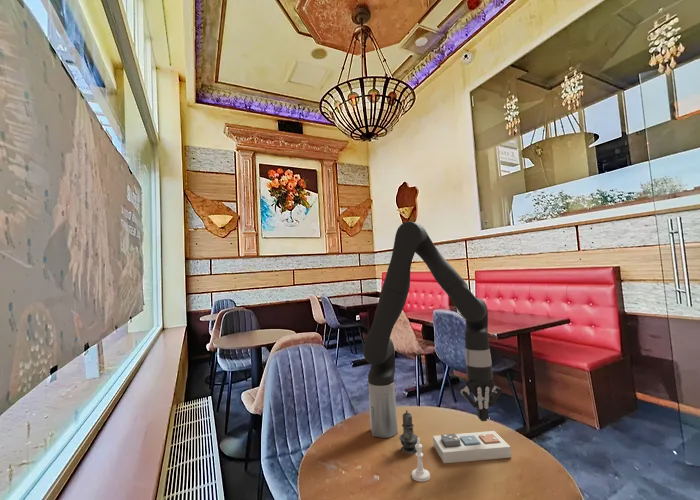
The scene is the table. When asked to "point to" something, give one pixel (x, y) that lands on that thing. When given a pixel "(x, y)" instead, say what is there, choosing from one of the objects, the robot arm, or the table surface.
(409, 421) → the dark grey tall piece
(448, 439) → the three-dot button
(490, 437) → the two-dot button
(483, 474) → the table surface
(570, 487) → the table surface
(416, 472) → the chess piece
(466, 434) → the button panel
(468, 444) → the one-dot button
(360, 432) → the table surface
